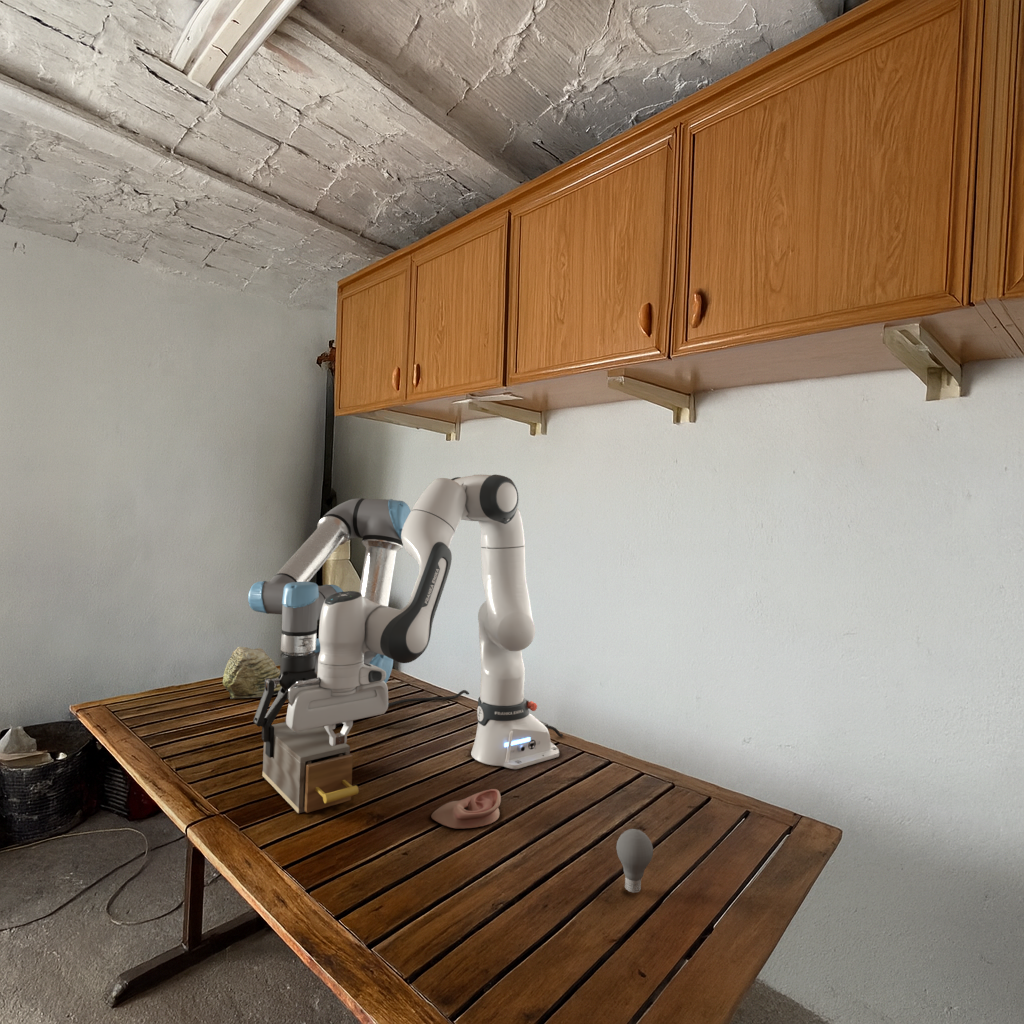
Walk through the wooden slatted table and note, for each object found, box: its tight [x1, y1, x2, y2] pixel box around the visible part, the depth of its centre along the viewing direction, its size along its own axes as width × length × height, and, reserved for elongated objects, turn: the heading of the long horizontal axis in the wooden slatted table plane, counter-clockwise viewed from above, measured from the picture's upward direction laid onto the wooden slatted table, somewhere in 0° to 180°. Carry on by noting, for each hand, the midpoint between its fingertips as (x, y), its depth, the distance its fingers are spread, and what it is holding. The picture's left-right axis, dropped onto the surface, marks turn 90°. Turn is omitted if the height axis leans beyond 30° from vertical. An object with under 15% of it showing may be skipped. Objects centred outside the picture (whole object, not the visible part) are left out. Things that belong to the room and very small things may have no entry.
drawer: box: [304, 753, 360, 814], centre depth 133 cm, size 25×9×9 cm, turn 40°
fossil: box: [222, 646, 282, 699], centre depth 198 cm, size 9×18×15 cm, turn 132°
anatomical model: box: [430, 788, 502, 830], centre depth 128 cm, size 13×4×12 cm
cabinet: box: [261, 721, 351, 814], centre depth 138 cm, size 21×11×11 cm, turn 40°
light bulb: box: [615, 828, 654, 894], centre depth 106 cm, size 6×6×10 cm
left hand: (294, 749), depth 142 cm, fingers closed on cabinet, 11 cm apart
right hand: (337, 743), depth 126 cm, fingers closed
